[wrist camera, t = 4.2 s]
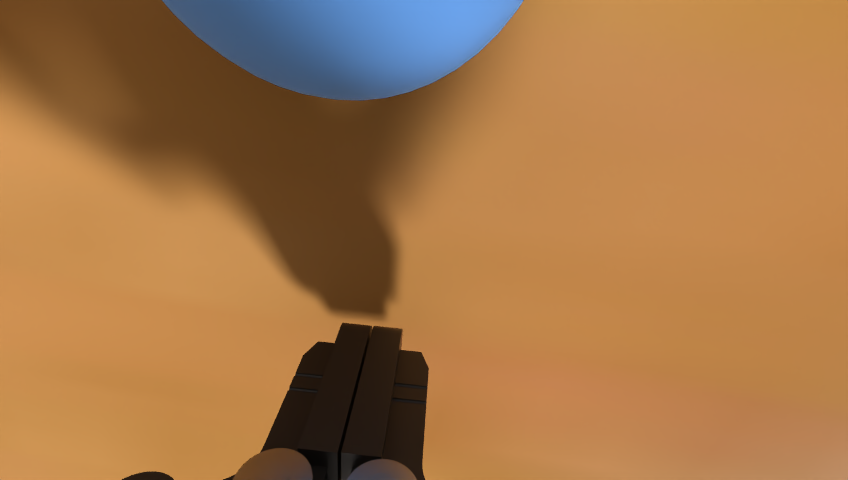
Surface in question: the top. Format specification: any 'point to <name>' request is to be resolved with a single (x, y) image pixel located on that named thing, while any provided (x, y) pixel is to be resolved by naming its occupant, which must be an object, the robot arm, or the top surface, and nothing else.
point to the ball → (346, 40)
